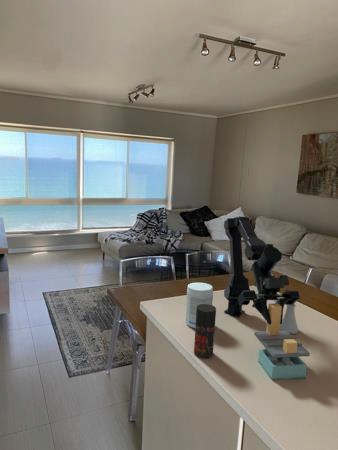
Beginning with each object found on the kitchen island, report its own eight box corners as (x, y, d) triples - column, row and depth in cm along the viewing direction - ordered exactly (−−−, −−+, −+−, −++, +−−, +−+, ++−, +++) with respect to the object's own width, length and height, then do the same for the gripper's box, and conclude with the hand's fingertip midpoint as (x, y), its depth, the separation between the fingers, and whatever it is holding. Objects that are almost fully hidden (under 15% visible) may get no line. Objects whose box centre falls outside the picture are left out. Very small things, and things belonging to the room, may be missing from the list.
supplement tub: (216, 326, 122) (219, 288, 120) (196, 332, 117) (198, 292, 115) (199, 316, 130) (202, 280, 128) (180, 321, 125) (182, 284, 123)
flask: (299, 328, 124) (302, 302, 122) (298, 336, 117) (301, 309, 116) (279, 324, 127) (281, 299, 125) (276, 331, 120) (279, 305, 119)
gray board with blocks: (254, 334, 102) (257, 303, 101) (286, 333, 104) (289, 303, 102) (273, 357, 89) (276, 322, 88) (309, 356, 91) (313, 322, 89)
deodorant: (192, 348, 105) (195, 304, 103) (210, 348, 106) (213, 304, 104) (195, 358, 100) (198, 311, 97) (214, 358, 100) (218, 311, 98)
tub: (258, 361, 100) (259, 349, 99) (289, 360, 101) (290, 348, 100) (271, 380, 91) (272, 366, 90) (305, 378, 92) (306, 365, 92)
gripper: (244, 265, 101) (255, 314, 92) (300, 265, 104) (317, 313, 95) (233, 281, 110) (242, 328, 101) (286, 281, 113) (299, 326, 103)
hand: (275, 323), depth 100 cm, fingers closed on gray board with blocks, 3 cm apart
